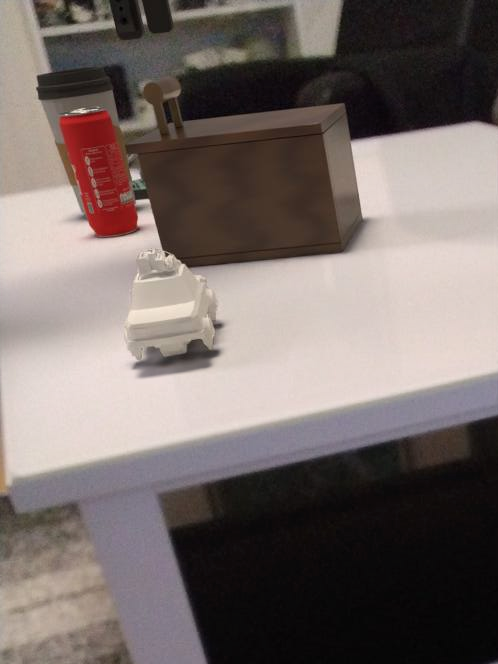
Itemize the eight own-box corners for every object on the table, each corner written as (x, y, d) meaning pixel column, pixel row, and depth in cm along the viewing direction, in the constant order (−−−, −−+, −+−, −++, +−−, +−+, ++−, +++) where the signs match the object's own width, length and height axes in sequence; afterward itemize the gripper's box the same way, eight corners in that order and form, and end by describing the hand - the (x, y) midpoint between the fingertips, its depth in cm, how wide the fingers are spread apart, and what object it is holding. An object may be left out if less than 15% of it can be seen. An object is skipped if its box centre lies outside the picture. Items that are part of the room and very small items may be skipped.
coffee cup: (106, 205, 127) (66, 69, 119) (159, 204, 124) (123, 63, 116) (60, 222, 121) (15, 78, 113) (115, 220, 118) (73, 73, 109)
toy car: (223, 316, 79) (201, 223, 75) (217, 364, 69) (192, 260, 65) (145, 327, 79) (119, 235, 75) (128, 378, 69) (97, 274, 65)
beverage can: (115, 238, 109) (79, 114, 102) (83, 237, 112) (46, 115, 105) (150, 226, 113) (118, 105, 106) (119, 225, 115) (85, 106, 108)
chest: (167, 268, 95) (136, 153, 89) (205, 234, 106) (180, 130, 100) (342, 251, 93) (322, 133, 88) (362, 219, 104) (346, 112, 99)
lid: (126, 154, 89) (109, 90, 86) (171, 131, 100) (157, 74, 98) (322, 133, 88) (311, 67, 85) (346, 112, 99) (336, 53, 96)
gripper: (80, -184, 87) (132, 35, 96) (10, -206, 76) (77, 46, 84) (165, -194, 87) (210, 27, 96) (108, -219, 75) (165, 36, 84)
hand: (148, 35), depth 90 cm, fingers open, 8 cm apart
